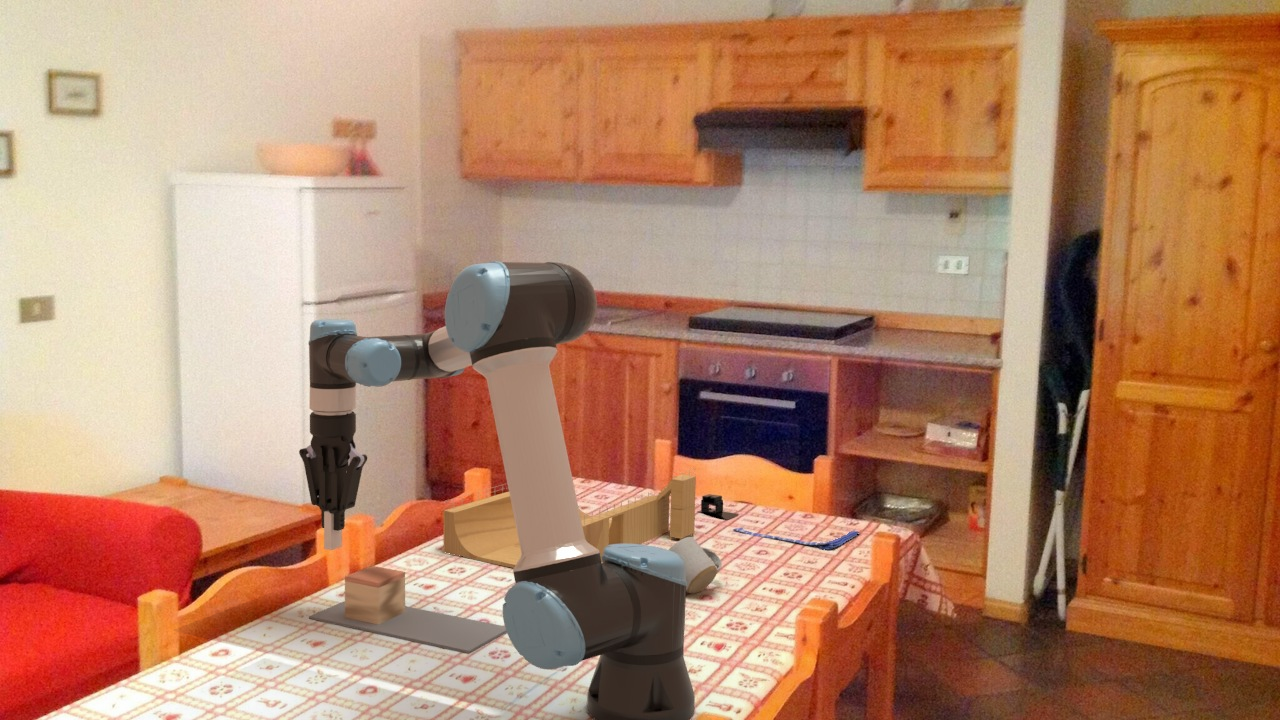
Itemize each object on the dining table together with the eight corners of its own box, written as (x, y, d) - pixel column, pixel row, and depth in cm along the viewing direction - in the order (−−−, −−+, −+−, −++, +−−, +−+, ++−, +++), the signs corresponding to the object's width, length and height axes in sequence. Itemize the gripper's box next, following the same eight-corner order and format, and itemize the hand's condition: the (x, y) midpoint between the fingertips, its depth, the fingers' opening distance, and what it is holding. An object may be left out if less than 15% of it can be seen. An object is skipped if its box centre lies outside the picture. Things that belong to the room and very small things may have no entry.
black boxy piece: (681, 515, 264) (681, 495, 264) (698, 510, 270) (698, 490, 270) (726, 521, 257) (726, 500, 257) (743, 515, 263) (743, 495, 262)
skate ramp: (559, 517, 263) (560, 448, 261) (693, 542, 244) (696, 468, 243) (443, 557, 229) (443, 478, 227) (589, 589, 211) (590, 504, 209)
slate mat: (469, 653, 176) (469, 650, 176) (309, 618, 190) (308, 616, 190) (510, 629, 187) (510, 627, 187) (356, 598, 201) (356, 596, 201)
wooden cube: (378, 624, 187) (378, 583, 186) (344, 617, 190) (344, 576, 189) (405, 612, 193) (405, 572, 193) (372, 605, 196) (372, 565, 196)
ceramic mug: (687, 603, 208) (692, 579, 202) (658, 572, 212) (663, 547, 206) (730, 575, 213) (736, 551, 207) (702, 545, 217) (707, 520, 212)
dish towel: (830, 557, 235) (831, 544, 235) (730, 538, 249) (730, 525, 248) (863, 540, 250) (864, 527, 249) (767, 522, 263) (767, 510, 262)
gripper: (378, 412, 192) (377, 548, 195) (318, 404, 198) (318, 536, 201) (348, 418, 186) (348, 559, 188) (287, 410, 191) (288, 547, 194)
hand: (333, 547), depth 195 cm, fingers closed
